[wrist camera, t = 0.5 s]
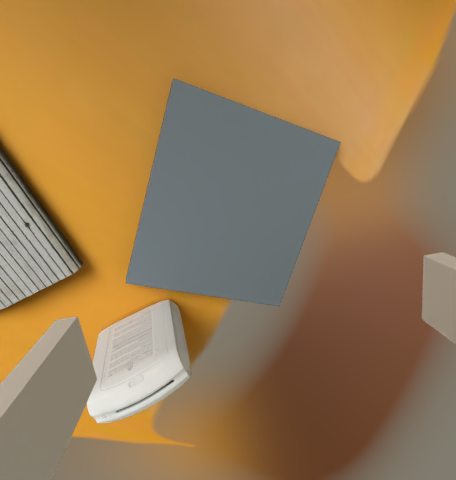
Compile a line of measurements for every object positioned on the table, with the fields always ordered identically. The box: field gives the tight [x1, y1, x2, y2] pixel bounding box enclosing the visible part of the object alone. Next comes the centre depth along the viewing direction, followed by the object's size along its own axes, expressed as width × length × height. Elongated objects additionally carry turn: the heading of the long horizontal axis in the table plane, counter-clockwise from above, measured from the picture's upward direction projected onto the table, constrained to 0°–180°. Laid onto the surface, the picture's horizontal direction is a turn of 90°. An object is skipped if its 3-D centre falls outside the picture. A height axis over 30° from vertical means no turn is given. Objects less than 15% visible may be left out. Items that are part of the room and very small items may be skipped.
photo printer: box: [87, 299, 191, 423], centre depth 33 cm, size 10×4×12 cm, turn 112°
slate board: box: [126, 79, 341, 306], centre depth 36 cm, size 22×20×2 cm
